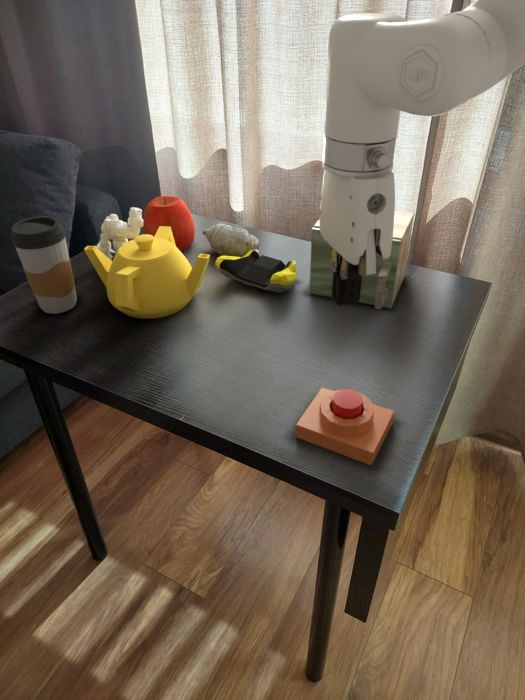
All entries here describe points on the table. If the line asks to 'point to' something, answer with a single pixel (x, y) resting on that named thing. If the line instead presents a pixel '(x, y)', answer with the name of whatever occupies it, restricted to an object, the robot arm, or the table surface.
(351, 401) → the button
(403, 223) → the cupboard
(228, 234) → the seashell
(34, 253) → the coffee cup
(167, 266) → the teapot
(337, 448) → the button block
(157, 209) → the apple
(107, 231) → the figurine
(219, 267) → the black and yellow shoe
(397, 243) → the door
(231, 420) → the table surface
